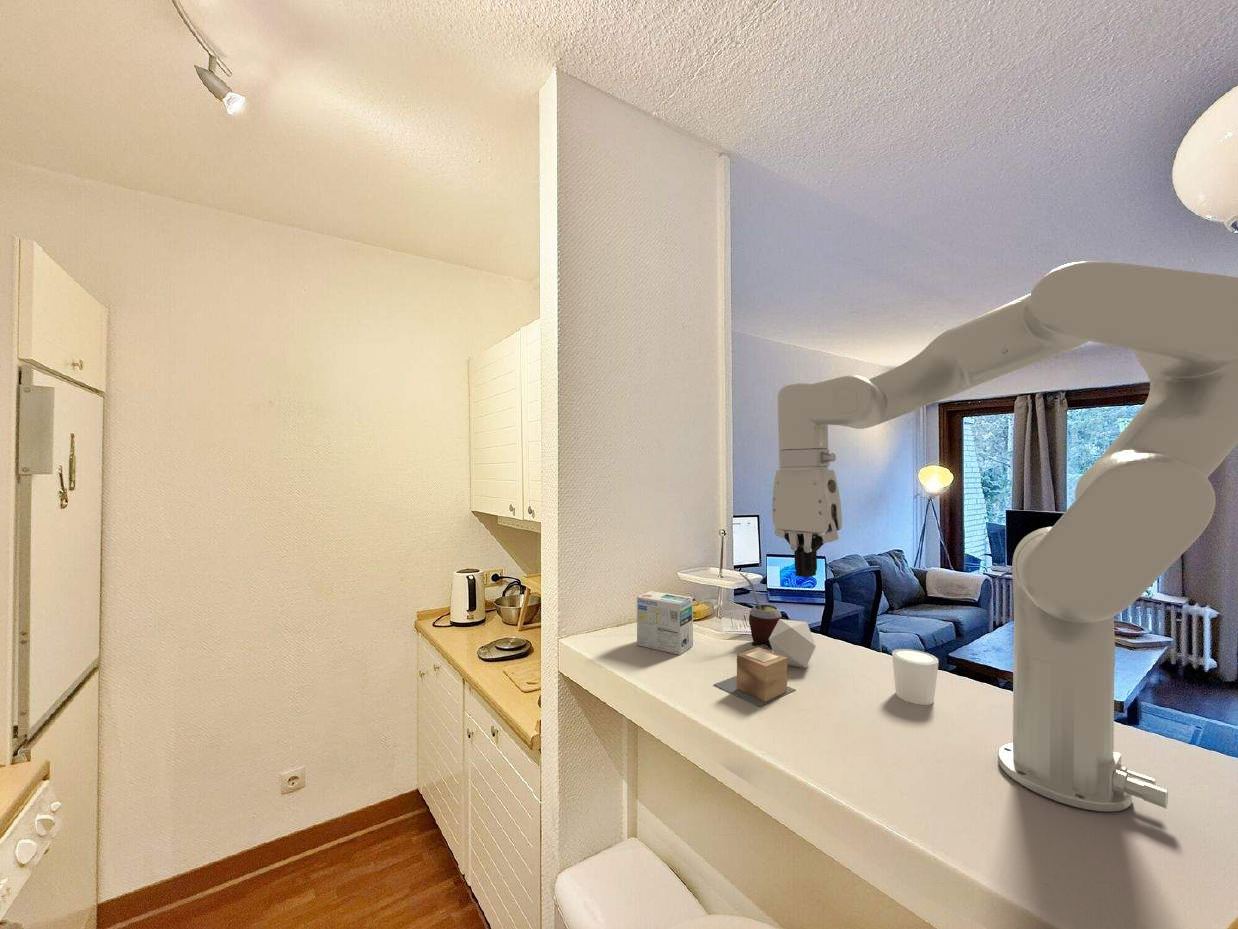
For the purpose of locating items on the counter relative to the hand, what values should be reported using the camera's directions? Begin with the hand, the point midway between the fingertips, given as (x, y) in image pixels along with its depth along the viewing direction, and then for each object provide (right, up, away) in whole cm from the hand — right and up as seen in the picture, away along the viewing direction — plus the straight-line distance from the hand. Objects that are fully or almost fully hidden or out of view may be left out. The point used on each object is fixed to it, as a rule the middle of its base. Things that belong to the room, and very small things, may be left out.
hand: (805, 575), depth 81 cm
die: (+4, -22, +19) cm, 29 cm away
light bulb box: (-20, -22, +28) cm, 41 cm away
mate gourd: (+2, -22, +30) cm, 37 cm away
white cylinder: (+20, -22, +5) cm, 30 cm away
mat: (-6, -22, +8) cm, 24 cm away
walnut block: (-5, -15, +7) cm, 17 cm away
